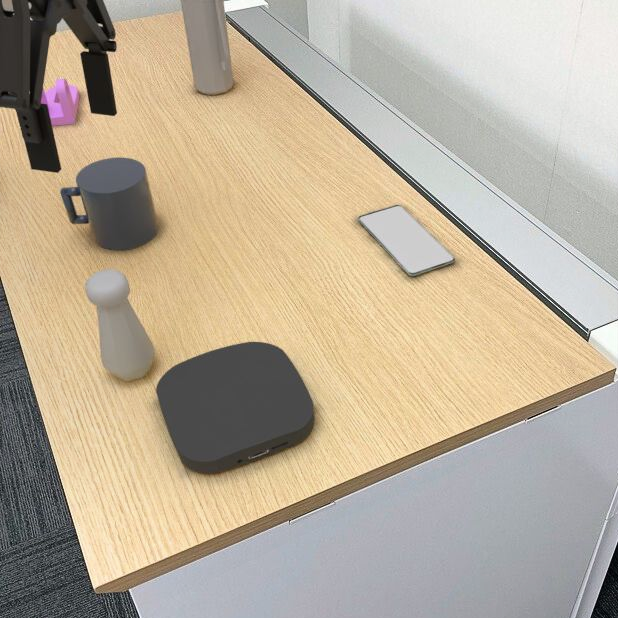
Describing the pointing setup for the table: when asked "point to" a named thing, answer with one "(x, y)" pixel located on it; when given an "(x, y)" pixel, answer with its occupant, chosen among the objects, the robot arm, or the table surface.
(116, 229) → the mug
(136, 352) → the salt shaker
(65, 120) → the bracket
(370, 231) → the smartphone
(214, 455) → the media streaming box
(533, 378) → the table surface
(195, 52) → the water bottle
